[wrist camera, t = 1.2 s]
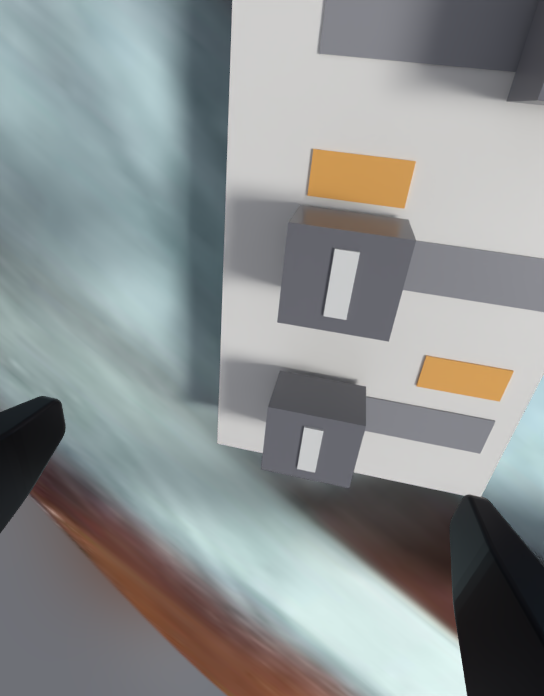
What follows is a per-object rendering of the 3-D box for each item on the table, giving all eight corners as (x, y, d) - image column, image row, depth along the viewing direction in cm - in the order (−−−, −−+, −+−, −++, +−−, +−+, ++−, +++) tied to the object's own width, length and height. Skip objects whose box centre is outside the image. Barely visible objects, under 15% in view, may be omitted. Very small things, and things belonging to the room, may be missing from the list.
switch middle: (385, 308, 17) (388, 343, 15) (289, 293, 18) (276, 323, 15) (408, 219, 15) (416, 241, 13) (300, 204, 16) (287, 223, 13)
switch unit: (467, 457, 24) (480, 500, 22) (232, 410, 26) (216, 444, 23) (724, -107, 12) (821, -165, 10) (261, -127, 14) (237, -180, 11)
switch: (351, 444, 21) (349, 490, 18) (272, 428, 21) (260, 470, 19) (366, 386, 19) (365, 427, 17) (279, 370, 20) (267, 408, 17)
